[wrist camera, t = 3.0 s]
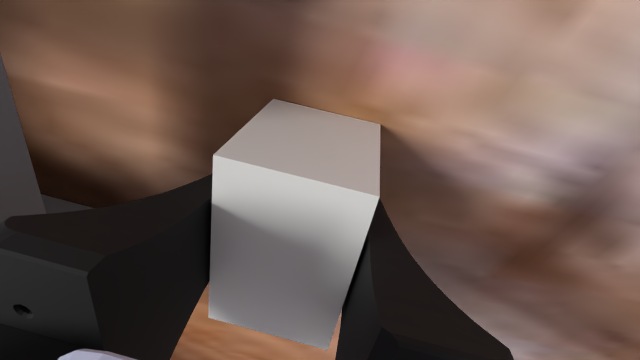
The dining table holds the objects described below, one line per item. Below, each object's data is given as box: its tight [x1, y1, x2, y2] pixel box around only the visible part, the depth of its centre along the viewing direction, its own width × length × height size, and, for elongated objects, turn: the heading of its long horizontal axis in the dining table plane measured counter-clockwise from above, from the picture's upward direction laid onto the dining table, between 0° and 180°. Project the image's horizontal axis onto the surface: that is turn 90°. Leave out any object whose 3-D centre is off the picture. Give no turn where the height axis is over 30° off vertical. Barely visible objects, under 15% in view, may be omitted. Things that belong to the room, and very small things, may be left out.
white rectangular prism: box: [208, 99, 380, 350], centre depth 11 cm, size 6×4×5 cm, turn 169°
